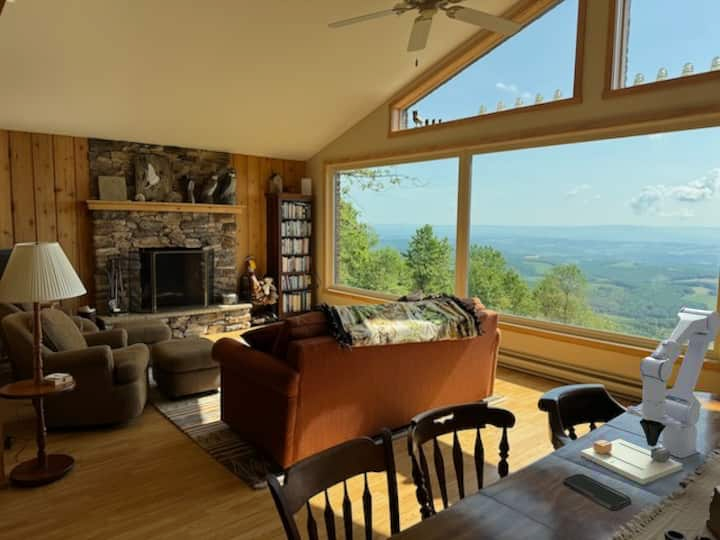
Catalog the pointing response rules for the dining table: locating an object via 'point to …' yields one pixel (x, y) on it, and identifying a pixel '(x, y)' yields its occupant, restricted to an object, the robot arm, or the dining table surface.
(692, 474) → the dining table surface
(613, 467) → the board
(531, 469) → the dining table surface
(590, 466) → the dining table surface
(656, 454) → the block
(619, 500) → the phone
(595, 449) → the fader orange
